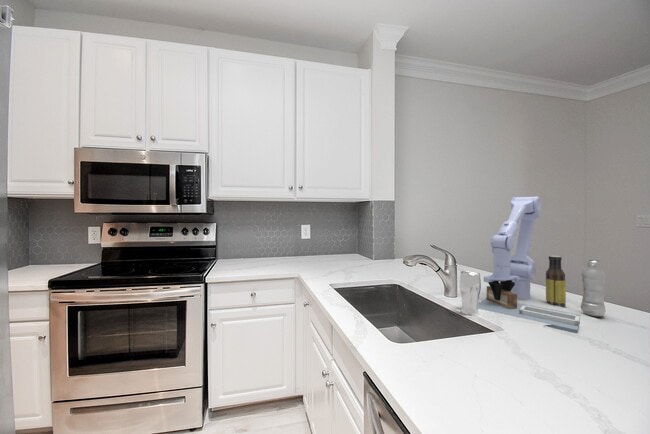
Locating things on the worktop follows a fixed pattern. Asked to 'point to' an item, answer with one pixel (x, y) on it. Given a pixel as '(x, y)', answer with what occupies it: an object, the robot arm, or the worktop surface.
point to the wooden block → (503, 298)
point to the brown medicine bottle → (555, 283)
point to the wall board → (537, 315)
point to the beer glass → (470, 291)
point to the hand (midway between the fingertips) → (501, 299)
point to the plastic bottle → (593, 289)
